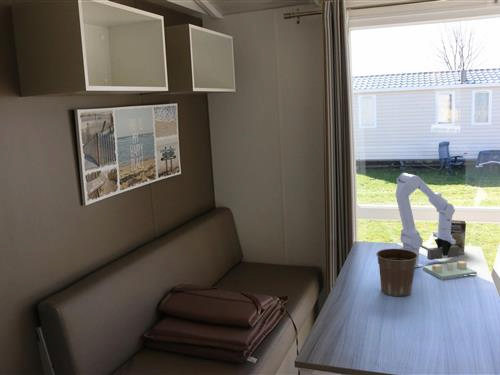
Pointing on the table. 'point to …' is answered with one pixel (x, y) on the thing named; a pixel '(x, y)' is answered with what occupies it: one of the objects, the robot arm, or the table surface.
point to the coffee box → (458, 234)
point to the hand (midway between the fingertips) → (443, 254)
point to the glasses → (441, 252)
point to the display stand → (449, 270)
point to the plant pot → (396, 271)
